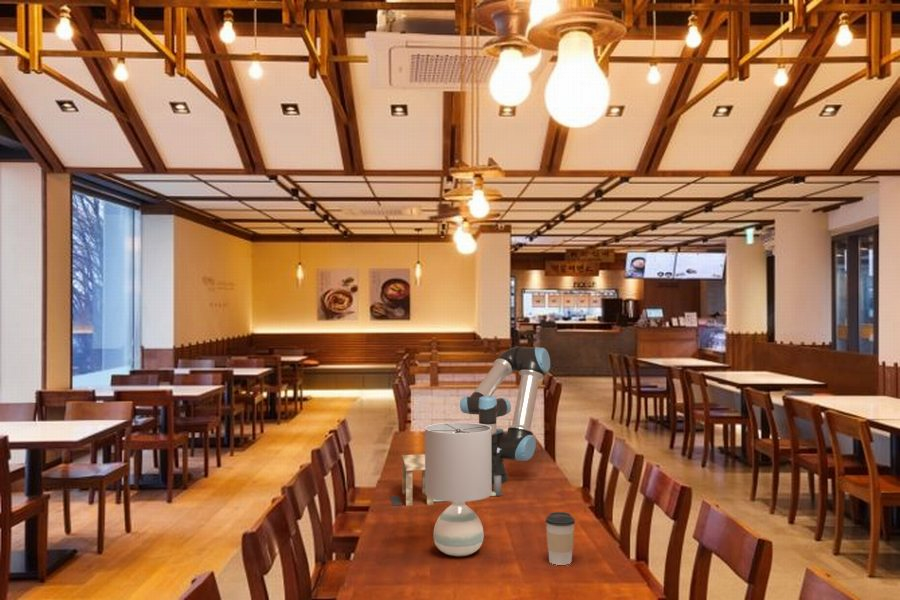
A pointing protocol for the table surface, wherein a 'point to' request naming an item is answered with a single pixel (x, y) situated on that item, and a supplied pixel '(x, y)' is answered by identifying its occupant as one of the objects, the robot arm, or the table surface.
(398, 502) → the pit mat
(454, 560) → the table surface
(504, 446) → the robot arm
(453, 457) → the lamp
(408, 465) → the bridge
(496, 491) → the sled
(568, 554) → the coffee cup
